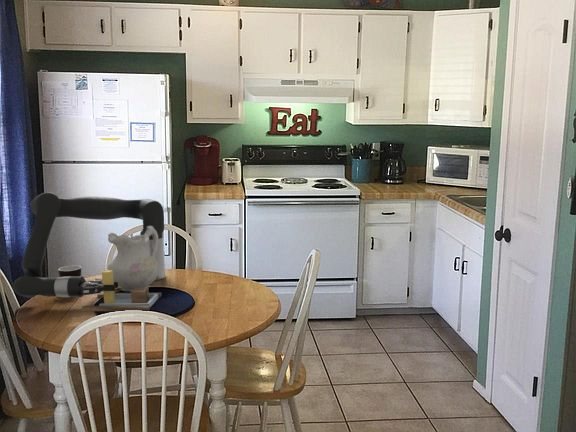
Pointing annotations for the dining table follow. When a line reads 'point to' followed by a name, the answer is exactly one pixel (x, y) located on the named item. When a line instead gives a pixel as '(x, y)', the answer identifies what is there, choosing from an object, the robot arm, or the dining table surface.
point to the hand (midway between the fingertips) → (116, 286)
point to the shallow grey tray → (121, 299)
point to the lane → (114, 308)
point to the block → (140, 295)
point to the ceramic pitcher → (134, 260)
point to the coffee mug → (69, 271)
